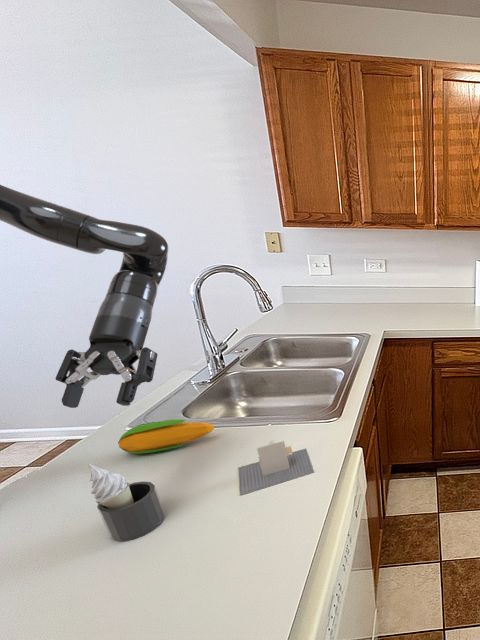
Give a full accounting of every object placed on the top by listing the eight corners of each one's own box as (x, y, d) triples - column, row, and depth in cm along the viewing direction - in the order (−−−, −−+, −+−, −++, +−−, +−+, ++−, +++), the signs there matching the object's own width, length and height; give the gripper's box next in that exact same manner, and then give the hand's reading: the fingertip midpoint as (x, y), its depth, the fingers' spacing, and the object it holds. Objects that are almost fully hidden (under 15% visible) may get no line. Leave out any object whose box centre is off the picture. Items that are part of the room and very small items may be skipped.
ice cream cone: (158, 515, 77) (109, 457, 70) (129, 537, 73) (74, 477, 67) (148, 509, 80) (100, 452, 73) (119, 529, 76) (66, 471, 69)
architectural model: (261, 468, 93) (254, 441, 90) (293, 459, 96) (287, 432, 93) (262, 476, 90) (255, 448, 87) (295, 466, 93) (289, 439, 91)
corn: (119, 421, 98) (213, 405, 105) (130, 446, 101) (220, 429, 108) (107, 438, 92) (208, 420, 99) (119, 464, 95) (216, 445, 102)
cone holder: (100, 545, 72) (86, 515, 69) (126, 513, 79) (114, 485, 77) (152, 536, 74) (140, 507, 71) (172, 506, 81) (162, 478, 79)
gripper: (64, 314, 71) (30, 401, 64) (149, 312, 72) (124, 397, 66) (98, 333, 78) (70, 413, 71) (175, 331, 79) (155, 409, 72)
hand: (96, 405), depth 68 cm, fingers open, 8 cm apart
